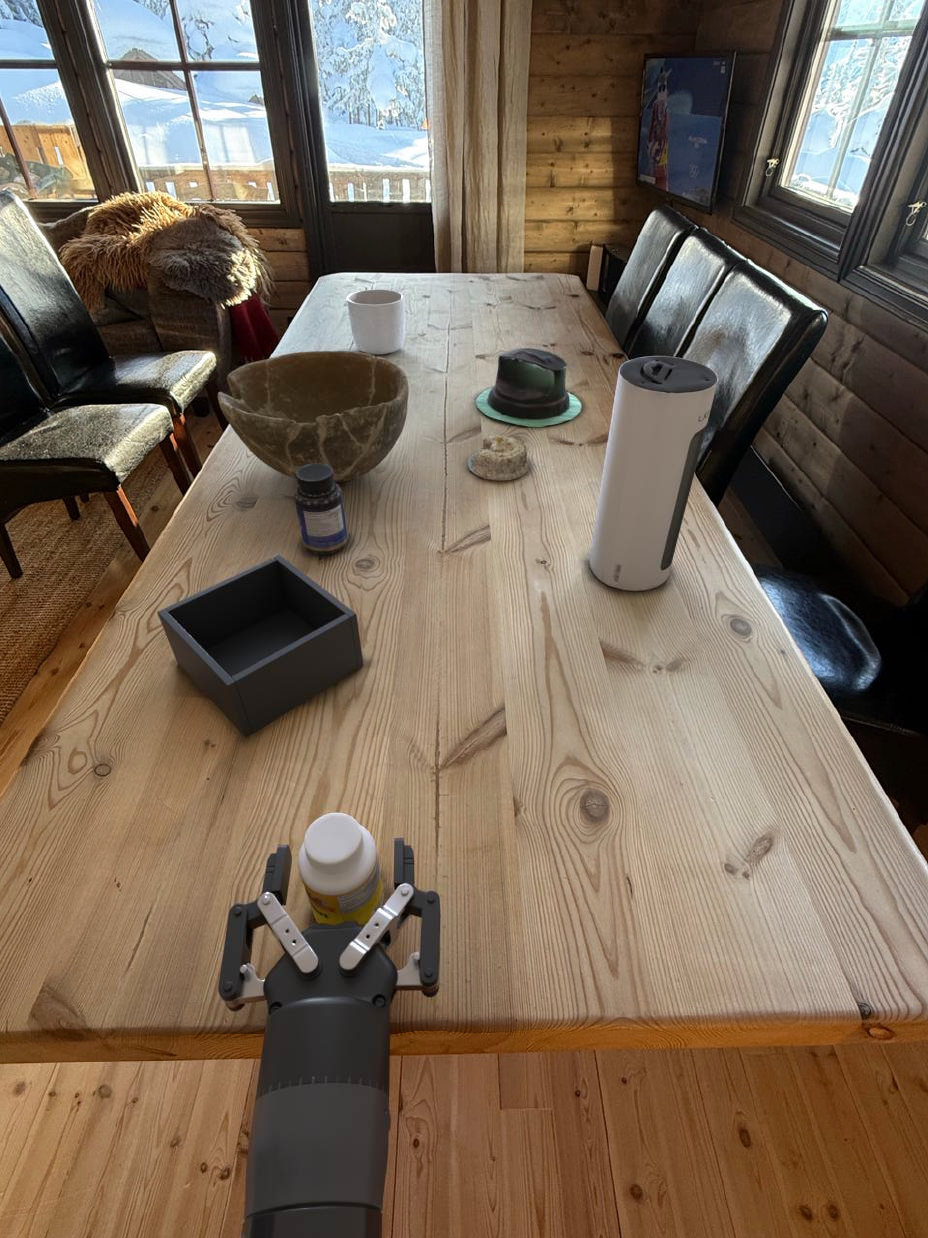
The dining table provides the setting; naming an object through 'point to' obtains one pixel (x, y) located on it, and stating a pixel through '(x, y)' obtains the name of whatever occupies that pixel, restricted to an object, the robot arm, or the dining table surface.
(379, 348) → the planter
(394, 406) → the bowl
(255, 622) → the open storage box
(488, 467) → the cake
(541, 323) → the dining table surface
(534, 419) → the fedora hat
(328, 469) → the pill bottle
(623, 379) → the speaker
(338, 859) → the supplement bottle
